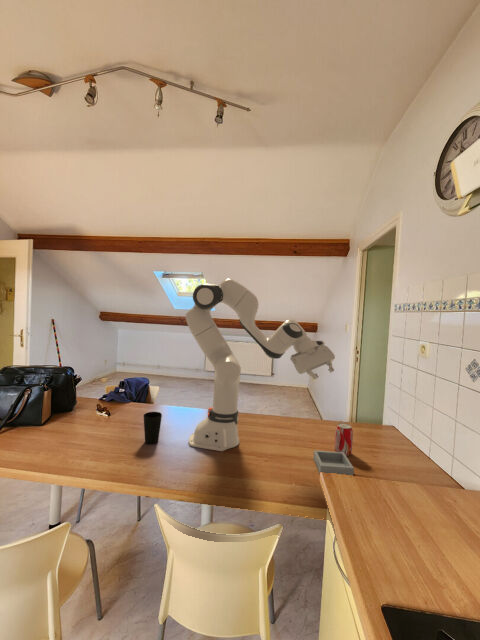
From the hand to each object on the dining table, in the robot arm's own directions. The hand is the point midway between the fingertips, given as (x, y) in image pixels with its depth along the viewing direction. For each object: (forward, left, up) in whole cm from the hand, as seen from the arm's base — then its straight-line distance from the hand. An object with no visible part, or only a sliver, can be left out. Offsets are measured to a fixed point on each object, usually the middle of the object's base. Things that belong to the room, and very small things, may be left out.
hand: (324, 374), depth 126 cm
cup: (-74, -3, -33) cm, 81 cm away
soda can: (+9, -1, -33) cm, 35 cm away
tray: (+1, -14, -33) cm, 36 cm away
